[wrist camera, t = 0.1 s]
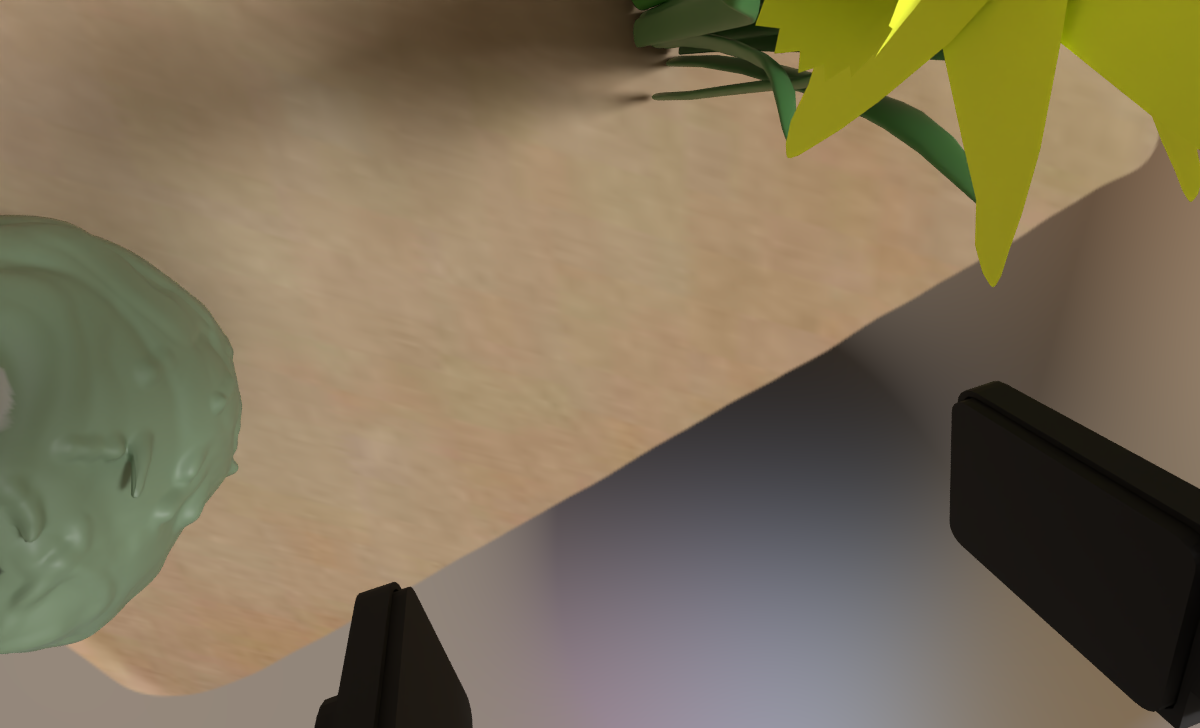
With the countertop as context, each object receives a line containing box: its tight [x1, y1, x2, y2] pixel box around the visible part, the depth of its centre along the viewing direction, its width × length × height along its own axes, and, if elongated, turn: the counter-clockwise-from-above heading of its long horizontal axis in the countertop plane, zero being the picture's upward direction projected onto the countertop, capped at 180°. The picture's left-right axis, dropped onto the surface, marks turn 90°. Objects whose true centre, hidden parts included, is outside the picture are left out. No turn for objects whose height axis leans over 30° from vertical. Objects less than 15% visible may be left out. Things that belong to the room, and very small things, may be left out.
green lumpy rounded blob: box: [0, 215, 242, 654], centre depth 28 cm, size 16×19×20 cm
